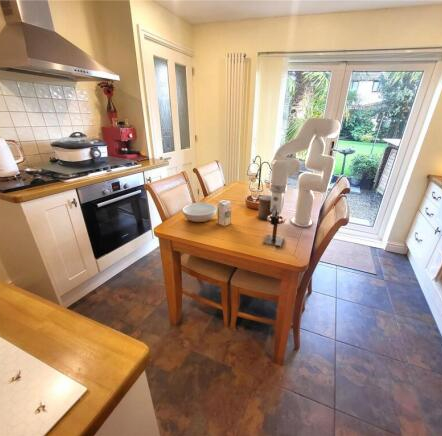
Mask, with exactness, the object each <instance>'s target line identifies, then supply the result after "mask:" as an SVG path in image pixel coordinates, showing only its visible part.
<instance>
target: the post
mask: <svg viewBox="0 0 442 436" xmlns="http://www.w3.org/2000/svg"><path fill="white" fill-rule="evenodd" d="M277 232H278V225H272V235H270V234H269V235H268V234H267V235H266V236H265V239H264V241H263V245H267V246H268V245H269V246H274V247H275V248H278V249H281V248H282V246H283V242H284V237H280V236H277V234H278V233H277Z"/></svg>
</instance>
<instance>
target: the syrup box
mask: <svg viewBox="0 0 442 436" xmlns="http://www.w3.org/2000/svg"><path fill="white" fill-rule="evenodd" d="M231 223H232V201H229V200H227V199H223V200H220V201H218V202H217V224H219V225H221V226H223V227H226V226H228V225H231Z"/></svg>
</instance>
